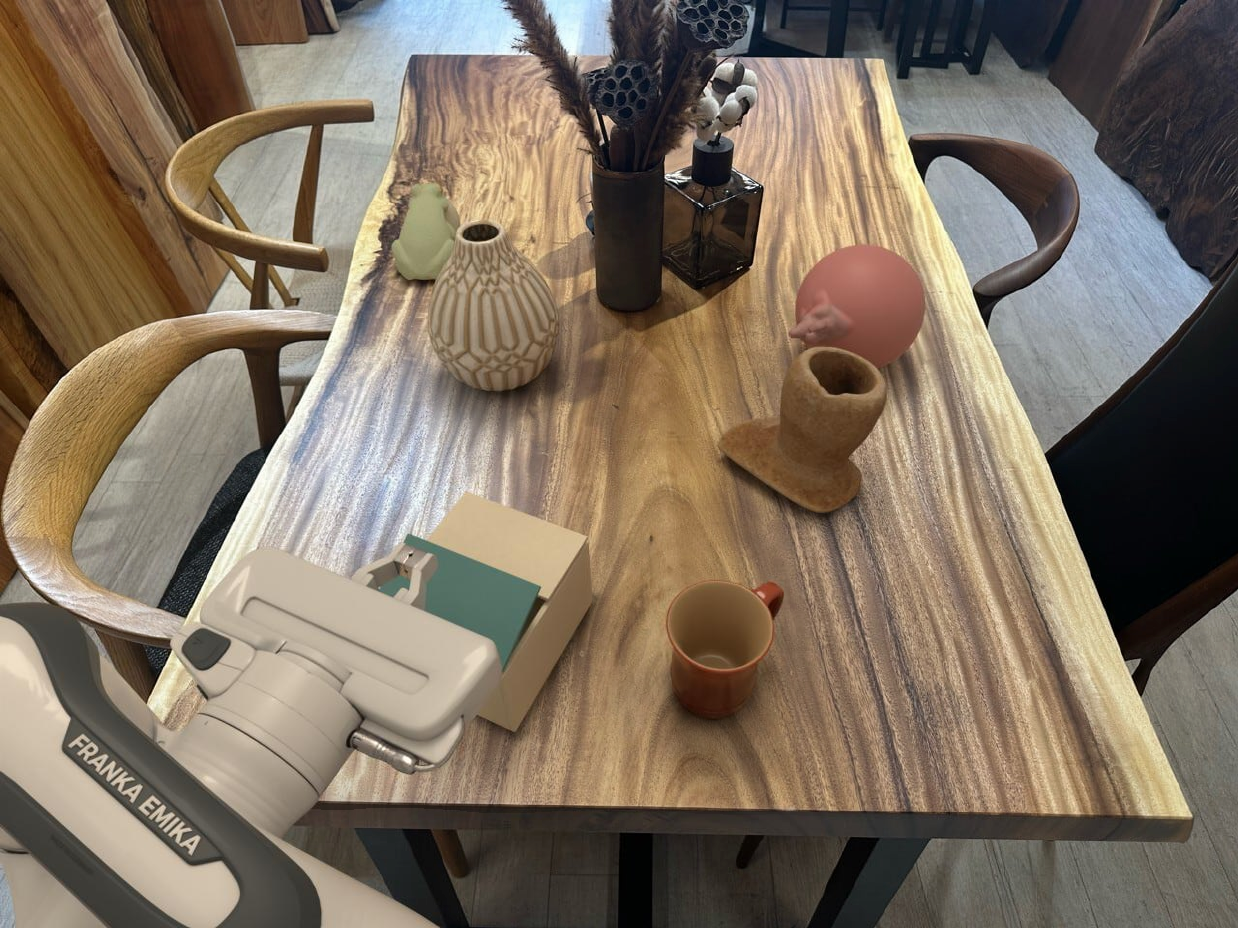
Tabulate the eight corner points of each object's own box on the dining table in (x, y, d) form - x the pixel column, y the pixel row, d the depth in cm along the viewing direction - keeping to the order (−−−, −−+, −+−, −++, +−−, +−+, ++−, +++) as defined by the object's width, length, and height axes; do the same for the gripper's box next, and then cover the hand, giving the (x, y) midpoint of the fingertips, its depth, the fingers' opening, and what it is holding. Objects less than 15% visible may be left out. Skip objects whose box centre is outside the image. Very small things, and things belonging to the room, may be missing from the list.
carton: (515, 732, 70) (501, 673, 62) (392, 675, 74) (366, 612, 66) (592, 601, 79) (588, 535, 72) (480, 556, 83) (465, 490, 76)
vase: (571, 402, 100) (560, 261, 85) (441, 419, 98) (408, 278, 83) (554, 326, 110) (542, 189, 96) (437, 340, 109) (407, 203, 94)
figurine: (475, 227, 129) (465, 167, 121) (459, 286, 117) (448, 224, 110) (412, 227, 129) (399, 167, 122) (390, 286, 118) (374, 224, 110)
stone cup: (884, 477, 90) (918, 373, 80) (817, 533, 85) (845, 430, 74) (779, 410, 98) (798, 308, 87) (712, 457, 93) (723, 354, 82)
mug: (709, 751, 69) (719, 693, 61) (642, 680, 73) (644, 618, 66) (803, 670, 74) (823, 607, 66) (735, 608, 79) (746, 543, 71)
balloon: (736, 361, 105) (748, 258, 94) (846, 309, 112) (869, 208, 101) (819, 428, 96) (844, 323, 85) (932, 367, 104) (969, 263, 92)
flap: (502, 673, 63) (500, 672, 62) (368, 614, 67) (366, 613, 66) (541, 586, 65) (540, 585, 65) (409, 534, 69) (407, 532, 68)
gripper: (420, 764, 44) (542, 576, 53) (150, 629, 50) (298, 481, 59) (440, 807, 49) (549, 628, 57) (190, 679, 55) (322, 535, 64)
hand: (420, 553), depth 58 cm, fingers closed
